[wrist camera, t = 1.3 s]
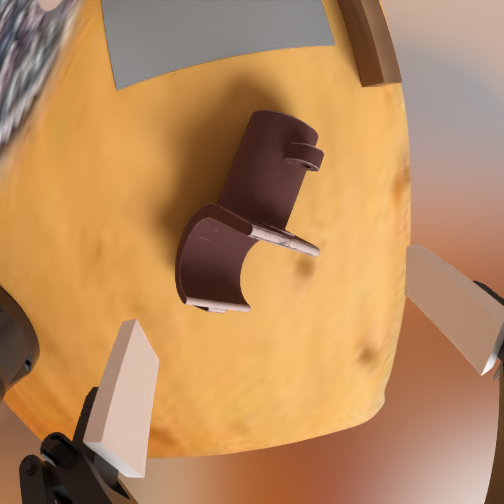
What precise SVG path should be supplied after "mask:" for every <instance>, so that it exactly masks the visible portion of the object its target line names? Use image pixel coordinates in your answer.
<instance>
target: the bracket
mask: <svg viewBox="0 0 504 504" xmlns="http://www.w3.org/2000/svg"><path fill="white" fill-rule="evenodd" d="M317 140H318V134H317V132H316V131H315V130H314V129H313V128H312V127H311V126H309V125H308V124H306V123H305V122H303V121H301V120H299V119H297V118H295V117H293V116H290V115H287V114H284V113H281V112H277V111H271V110H257V111H255V112H253V114H252V116H251V119H250V121H249V124H248V126H247V129H246V131H245V133H244V136H243V138H242V141H241V143H240V146H239V148H238V151H237V154H236V156H235V159H234V161H233V164H232V166H231V169H230V172H229V174H228V177H227V179H226V182H225V185H224V187H223V190H222V193H221V195H220V198H219V201H218V203H217V204H215V203H208V204H205V205H203V206H202V207H200V208H199V209H198V210H197V211H196V212H195V213H194V215H193V216H192V217H191V219H190V220H189V222H188V224H187V226H186V228H185V230H184V232H183V234H182V237H181V240H180V243H179V247H178V251H177V256H176V263H175V282H176V288H177V292H178V295H179V297H180V299H181V301H182V302H183V303H184V304H187V305H193V306H195V307H198V308H200V309H202V310H205V311H208V312H217V313H225V311H226V310H236V311H245V312H249V311H250V309H251V307H250V305H249V304H248V303H247V302H246V301H245V299H244V297H243V295H242V292H241V287H240V273H241V268H242V264H243V261H244V259H245V256H246V254H247V253H248V251H249V250H250V248H251V247H252V246H253V245H254V244H255V243H256V242H258V241H259V240H262V241H265V242H269V243H272V244H275V245H278V246H281V247H285V248H288V249H291V250H294V251H297V252H300V253H304V254H307V255H310V256H313V257H317V256H318V255H319V248H318V247H316V246H314V245H313V244H311V243H309V242H307V241H305V240H303V239H301V238H300V237H298V236H296V235H294V234H292V233H290V232H288V231H286V230H285V228H286V225H287V222H288V220H289V217H290V214H291V211H292V209H293V206H294V203H295V201H296V198H297V195H298V193H299V190H300V187H301V184H302V182H303V179H304V176H305V173H306V171H307V170H310V171H319V168H320V165H321V162H322V159H323V157H324V153H323V151H321V150H320V149H318V148H316V147H315V145H316V143H317Z"/></svg>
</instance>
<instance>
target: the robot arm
mask: <svg viewBox="0 0 504 504" xmlns="http://www.w3.org/2000/svg"><path fill="white" fill-rule="evenodd" d="M405 295H406V296H407V297H409V299H410V300H411V301H412V302H413V303H414V304H415V305H416V306H417V307H418V308H419V309H420V310H421V311H423V313H424V314H425V315H426V316H427V317H428V318H429V319H430V320H431V321H432V322H433V323H434V324H435V325H436V326H437V327H438V328H439V329H440V330H441V332H443V334H444V335H445V336H446V337H447V338H448V339H449V340H450V341H451V342H452V343H453V344H454V346H455V347H456V348H457V349H458V350H459V351H460V352H461V353H462V354H463V356H464V357H465V358H466V359H467V360H468V361H469V363H470V364H471V365H472V366H473V367H474V368H475V369H476V370H477V372H478V373H479V374H480V375H483V374H484V373H486V372H487V371H488V370H490V369H491V368H493V366H494V364H495V361H496V359H497V357H498V358H499V359H500V360H501V363H500V365H499V367H498V369H497V371H496V373H495V375H494V380H496V378H497V376H498V374H499V376H500V377H499V380H500V396H499V420H498V431H497V441H496V449H495V456H494V462H493V468H492V473H491V478H490V483H489V487H488V492H487V495H486V500H485V503H484V504H504V299H503V298H501V297H499V296H498V294H496V293H495V292H493V291H492V290H491V289H490V288H489V287H487V286H486V285H485V284H482V283H480V282H478V281H473V282H472V281H471V280H470V279H469V278H467V277H466V276H464V275H463V274H462V273H460V272H459V271H458V270H456V269H455V268H454V267H452V266H451V265H449V264H448V263H447V262H445V261H444V260H442V259H441V258H439V257H438V256H437V255H435V254H434V253H432V252H430V251H429V250H428V249H426V248H425V247H423V246H422V245H420V244H419V243H417V244H414V245H411V246H408V247H407V249H406V279H405ZM39 353H40V350H39V343H38V339H37V336H36V334H35V331H34V329H33V327H32V325H31V323H30V321H29V320H28V318H27V317H26V315H25V314H24V312H23V311H22V310H21V308H20V307H19V306H18V305H17V303H16V302H15V301H14V300H13V299H12V298H11V297H10V296H9V295H8V294H7V293H6V292H5V291H3V290H2V289H1V288H0V403H1V401H2V399H3V397H4V395H5V393H6V392H7V391H8V390H9V389H10V388H11V387H13V386H14V385H15V384H16V383H18V382H19V381H20V380H21V379H23V378H24V377H25V376H27V375H28V374H29V373H30V372H31V371H32V369H33V368H34V366H35V364H36V362H37V360H38V358H39ZM159 362H160V360H159V359H158V357H157V355H156V354H155V352H154V350H153V348H152V346H151V345H150V343H149V341H148V339H147V337H146V336H145V334H144V332H143V330H142V328H141V326H140V324H139V322H138V320H137V319H133V320H128V321H124V322H122V325H121V327H120V330H119V332H118V335H117V338H116V340H115V343H114V346H113V348H112V351H111V354H110V356H109V359H108V362H107V365H106V368H105V370H104V373H103V376H102V379H101V382H100V385H99V387H93V388H92V389H91V391H90V392H89V393H88V395H87V396H86V399H85V402H84V405H83V408H82V411H81V414H80V415H81V416H80V417H79V420H78V423H77V427H76V430H75V433H74V437H73V440H72V441H71V440H70V439H68V438H67V437H66V436H65V435H64V434H62V433H60V432H54V433H52V434H49V435H48V436H47V437H46V438H45V439H44V441H43V442H42V445H41V448H40V452H41V456H42V457H44V458H45V459H46V460H47V461H42V460H41V459H40V458H39V457H37V456H35V455H28V456H26V457H25V458H24V459H23V461H22V462H21V464H20V468H19V475H20V487H21V496H22V504H56V503H57V504H138V503H137V501H136V500H135V499H134V497H133V496H132V495H131V494H130V492H129V491H128V489H127V488H126V487H125V485H124V484H123V483H122V481H120V479H118V472H121V473H122V474H123V475H125V476H126V477H137V478H144V476H145V464H146V455H147V446H148V437H149V429H150V421H151V413H152V406H153V399H154V393H155V386H156V380H157V374H158V368H159ZM55 501H56V503H55Z"/></svg>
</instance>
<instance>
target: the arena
mask: <svg viewBox="0 0 504 504" xmlns="http://www.w3.org/2000/svg"><path fill="white" fill-rule="evenodd" d="M338 2H339V5H340V8H341V10H342V13H343V16H344V20H345V23H346V26H347V29H348V32H349V36H350V39H351V43H352V46H353V50H354V54H355V57H356V61H357V65H358V69H359V74H360V78H361V82H362V87H378V86H385V85H390V84H396V83H402V79H401V75H400V70H399V66H398V62H397V58H396V54H395V50H394V47H393V43H392V40H391V36H390V33H389V30H388V26H387V23H386V20H385V17H384V14H383V11H382V8H381V6H380V3H379V0H338Z"/></svg>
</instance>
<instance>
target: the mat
mask: <svg viewBox="0 0 504 504" xmlns="http://www.w3.org/2000/svg"><path fill="white" fill-rule="evenodd" d="M101 1H102V9H103V17H104V24H105V31H106V37H107V43H108V49H109V54H110V60H111V65H112V70H113V75H114V80H115V84H116V89H117V90H120V89H122V88H125V87H128V86H130V85H133V84H136V83H138V82H141V81H144V80H147V79H150V78H153V77H156V76H159V75H162V74H165V73H168V72H172V71H175V70H178V69H182V68H186V67H189V66H193V65H197V64H201V63H205V62H209V61H214V60H218V59H223V58H228V57H233V56H238V55H244V54H250V53H256V52H263V51H270V50H278V49H287V48H297V47H310V46H332V45H335V42H334V39H333V35H332V32H331V29H330V25H329V22H328V19H327V16H326V13H325V10H324V7H323V4H322V1H321V0H101Z"/></svg>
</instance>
